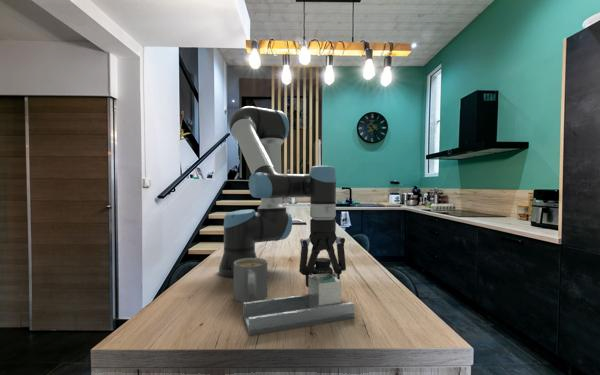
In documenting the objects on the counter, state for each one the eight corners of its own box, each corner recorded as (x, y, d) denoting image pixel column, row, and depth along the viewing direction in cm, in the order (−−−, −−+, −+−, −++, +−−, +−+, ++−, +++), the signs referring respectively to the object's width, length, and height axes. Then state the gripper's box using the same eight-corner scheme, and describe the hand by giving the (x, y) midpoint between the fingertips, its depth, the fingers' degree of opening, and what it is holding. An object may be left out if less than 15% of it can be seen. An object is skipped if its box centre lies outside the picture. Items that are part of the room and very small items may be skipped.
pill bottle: (331, 301, 80) (332, 262, 80) (310, 300, 81) (310, 261, 81) (333, 293, 86) (333, 257, 86) (313, 292, 87) (314, 256, 87)
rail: (243, 316, 71) (243, 277, 71) (336, 302, 80) (336, 268, 80) (249, 335, 61) (249, 291, 61) (354, 317, 70) (354, 279, 70)
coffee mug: (237, 289, 90) (237, 257, 90) (268, 289, 90) (269, 257, 90) (226, 307, 76) (226, 270, 76) (263, 307, 76) (263, 270, 76)
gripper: (295, 220, 77) (295, 305, 77) (358, 218, 83) (358, 296, 83) (287, 218, 84) (287, 295, 84) (346, 216, 90) (346, 288, 90)
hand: (322, 296), depth 83 cm, fingers open, 7 cm apart
